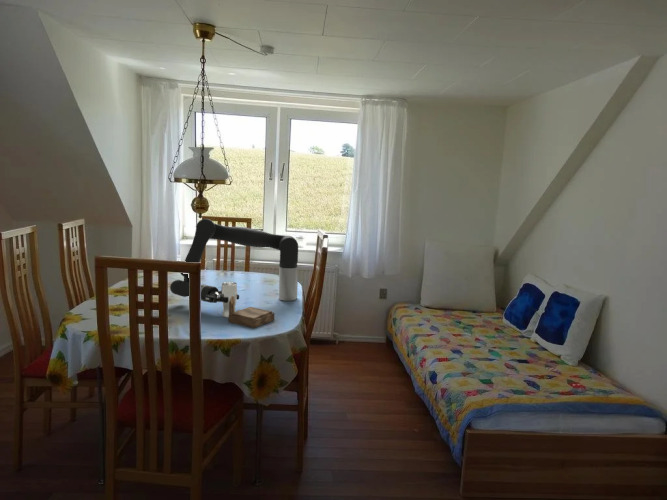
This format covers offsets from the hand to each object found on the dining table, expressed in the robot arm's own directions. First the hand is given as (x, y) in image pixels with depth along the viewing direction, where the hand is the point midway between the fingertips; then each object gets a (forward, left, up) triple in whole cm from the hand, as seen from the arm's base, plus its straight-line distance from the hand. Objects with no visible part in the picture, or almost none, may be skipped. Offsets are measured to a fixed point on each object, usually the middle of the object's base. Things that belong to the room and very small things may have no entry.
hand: (233, 298), depth 200 cm
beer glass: (0, -2, -9) cm, 9 cm away
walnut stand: (0, +11, -8) cm, 14 cm away
